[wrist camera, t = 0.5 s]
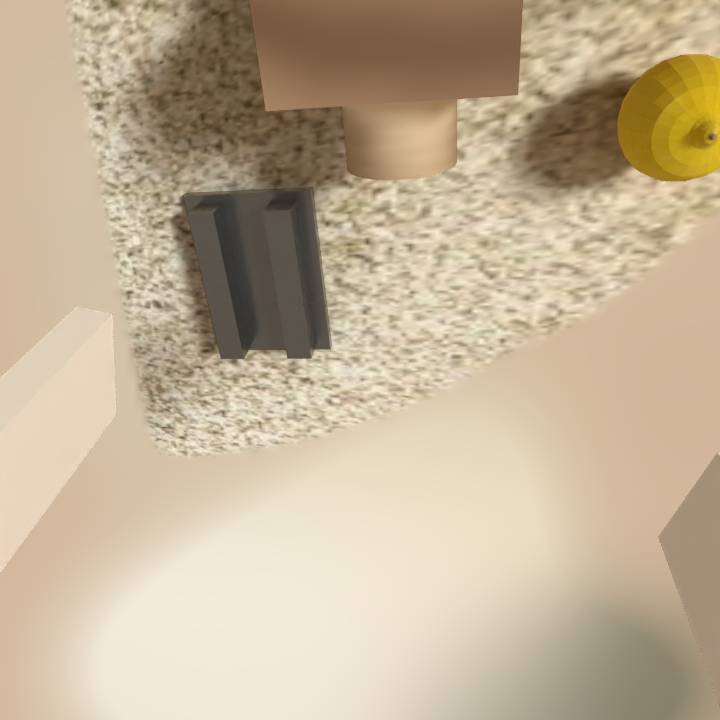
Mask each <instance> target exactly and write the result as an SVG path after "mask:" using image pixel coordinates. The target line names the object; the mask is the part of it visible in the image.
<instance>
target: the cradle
mask: <svg viewBox="0 0 720 720" xmlns="http://www.w3.org/2000/svg"><path fill="white" fill-rule="evenodd" d="M183 198H184V202H185V206H186V211H187V216H188V220H189V224H190V229H191V233H192V237H193V241H194V246H195V250H196V254H197V258H198V263H199V267H200V271H201V275H202V280H203V284H204V288H205V293H206V297H207V301H208V305H209V310H210V314H211V318H212V322H213V327H214V331H215V335H216V339H217V344H218V348H219V352H220V356H221V359H244V358H245V356H246V354H247V352H248V350H284V349H286V352H287V358H288V359H302V358H312V355H313V352H314V349H331V346H332V342H331V334H330V326H329V318H328V309H327V301H326V293H325V285H324V276H323V268H322V260H321V252H320V244H319V235H318V227H317V219H316V211H315V202H314V194H313V187H308V188H286V189H264V190H242V191H220V192H198V193H186V194H185V195H184V196H183Z"/></svg>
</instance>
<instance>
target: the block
mask: <svg viewBox="0 0 720 720" xmlns="http://www.w3.org/2000/svg"><path fill="white" fill-rule="evenodd" d="M249 4H250V11H251V17H252V24H253V30H254V37H255V44H256V50H257V57H258V63H259V70H260V77H261V83H262V90H263V96H264V103H265V109H266V111H279V110H294V109H310V108H325V107H341V106H356V105H371V104H387V103H402V102H418V101H433V100H448V99H464V98H479V97H495V96H510V95H518V84H519V64H520V45H521V25H522V5H523V0H249Z"/></svg>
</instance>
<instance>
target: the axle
mask: <svg viewBox="0 0 720 720" xmlns="http://www.w3.org/2000/svg"><path fill="white" fill-rule="evenodd" d="M342 115H343V126H344V137H345V148H346V159H347V169H348V172H349V173H351V174H352V175H355V176H358V177H362V178H367V179H377V180H401V179H412V178H420V177H425V176H430V175H435V174H438V173H441V172H444V171H447V170H449V169H451V168H452V167H454V166H455V165H456V163H457V99H448V100H433V101H418V102H402V103H387V104H371V105H356V106H342Z"/></svg>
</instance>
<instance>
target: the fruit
mask: <svg viewBox="0 0 720 720" xmlns="http://www.w3.org/2000/svg"><path fill="white" fill-rule="evenodd" d="M617 130H618V141H619V144H620V146H621V149H622V151H623V154H624V157H625V158H626V159H627V160H628V161H629V162H630V163H631V164H632V165H633V167H634V168H635V169H637V170H638V171H640V172H641V173H644V174H646V175H648V176H650V177H652V178H655V179H658V180H661V181H687V180H691V179H695V178H699V177H703V176H706V175H708V174H709V173H711V172H713V171H715V170H717V169H719V168H720V59H719V58H715V57H712V56H709V55H704V54H697V55H680V56H677V57H674V58H671V59H668V60H664V61H662V62H660V63H659V64H657V65H656V66H654V67H652V68H651V69H649V70H647V71H646V72H645V73H644V74H643V75H642V76H641V77H640V78H639V79H638V80H637V81H636V82H635V83H634V84H633V85H632V86H631V88H630V89H629V91H628V93H627V95H626V96H625V98H624V100H623V102H622V105H621V109H620V112H619V116H618V120H617Z"/></svg>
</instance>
